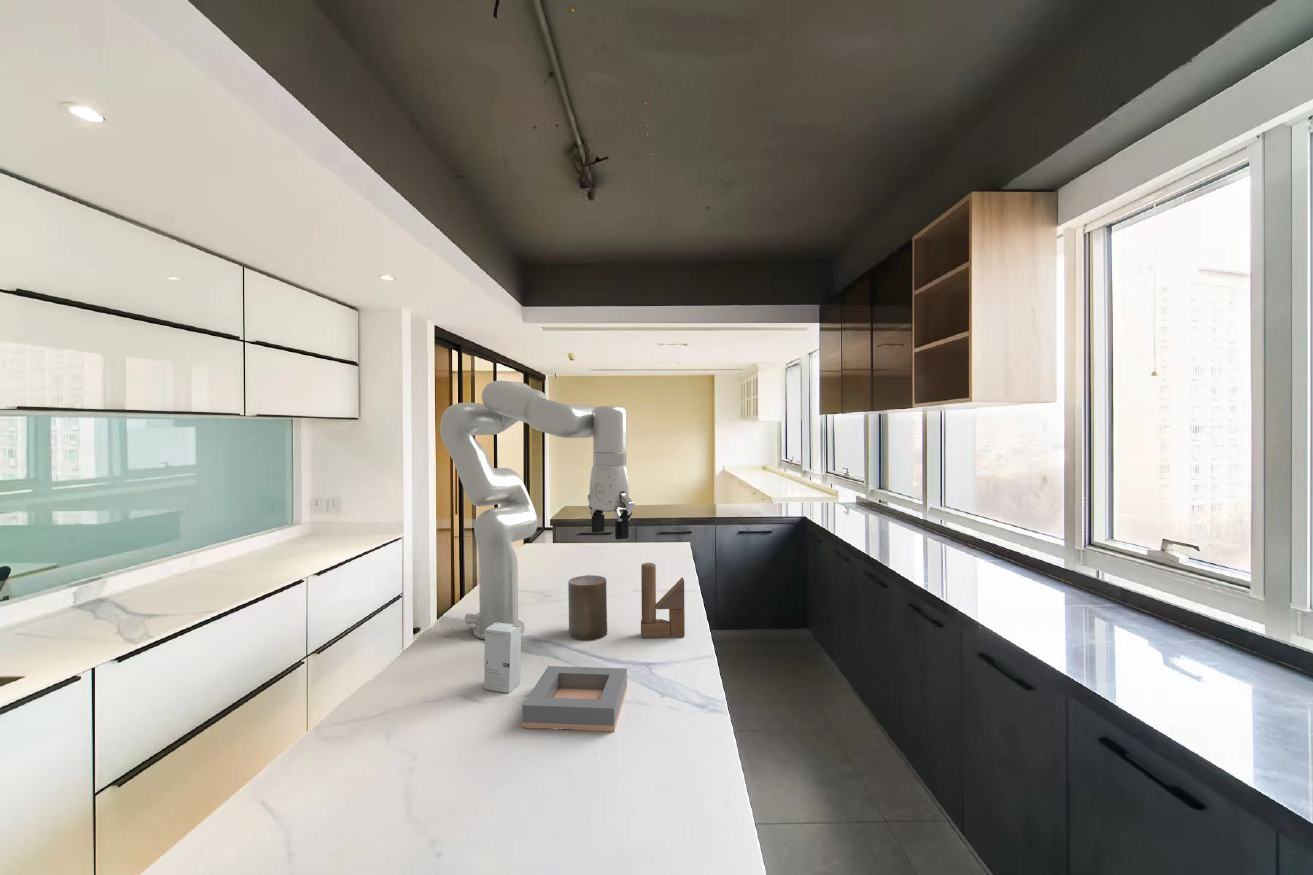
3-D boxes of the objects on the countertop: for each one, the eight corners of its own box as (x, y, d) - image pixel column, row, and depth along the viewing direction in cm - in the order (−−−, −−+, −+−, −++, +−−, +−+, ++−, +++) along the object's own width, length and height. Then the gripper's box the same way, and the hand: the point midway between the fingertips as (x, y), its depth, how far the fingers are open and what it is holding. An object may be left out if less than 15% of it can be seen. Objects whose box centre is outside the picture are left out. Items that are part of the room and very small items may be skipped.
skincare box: (482, 689, 111) (482, 628, 111) (495, 679, 116) (495, 621, 116) (510, 693, 110) (509, 632, 109) (522, 683, 114) (521, 624, 114)
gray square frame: (522, 727, 97) (522, 704, 97) (548, 685, 113) (548, 665, 113) (614, 731, 96) (614, 708, 96) (627, 688, 112) (626, 668, 112)
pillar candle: (614, 635, 140) (613, 575, 140) (579, 643, 135) (578, 581, 135) (595, 624, 148) (595, 568, 148) (561, 632, 143) (561, 573, 143)
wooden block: (684, 637, 139) (684, 565, 138) (641, 638, 138) (640, 566, 138) (683, 632, 142) (682, 561, 142) (640, 633, 142) (640, 562, 141)
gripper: (576, 459, 132) (575, 531, 132) (617, 463, 118) (617, 543, 119) (603, 458, 137) (602, 528, 137) (646, 461, 123) (645, 539, 123)
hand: (609, 535), depth 128 cm, fingers open, 9 cm apart
